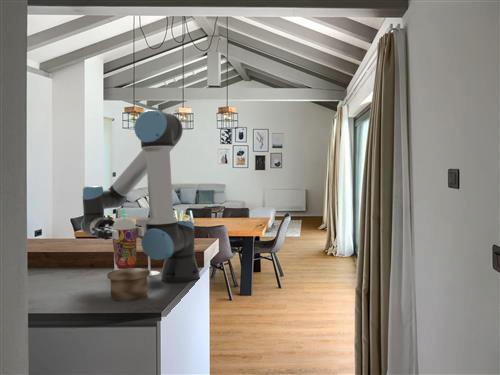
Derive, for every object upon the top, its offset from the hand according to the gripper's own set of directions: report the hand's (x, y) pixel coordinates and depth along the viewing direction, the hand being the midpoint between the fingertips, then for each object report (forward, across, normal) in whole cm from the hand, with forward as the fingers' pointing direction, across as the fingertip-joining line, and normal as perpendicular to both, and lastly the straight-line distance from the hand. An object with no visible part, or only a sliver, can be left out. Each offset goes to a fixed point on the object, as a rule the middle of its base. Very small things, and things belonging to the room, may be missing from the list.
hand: (130, 233), depth 149 cm
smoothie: (-5, 0, -12) cm, 13 cm away
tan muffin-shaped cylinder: (-5, -1, -22) cm, 23 cm away
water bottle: (-39, -14, -22) cm, 47 cm away
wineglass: (-31, -22, -22) cm, 44 cm away
